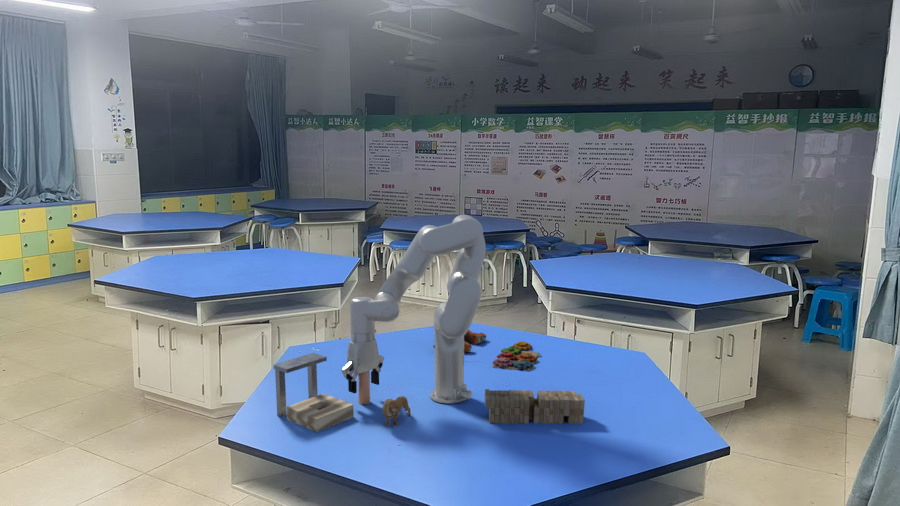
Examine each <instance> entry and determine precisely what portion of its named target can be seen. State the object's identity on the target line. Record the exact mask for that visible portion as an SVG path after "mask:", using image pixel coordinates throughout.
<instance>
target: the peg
mask: <svg viewBox="0 0 900 506" xmlns="http://www.w3.org/2000/svg"><path fill="white" fill-rule="evenodd" d="M357 380H358V384H357V385H358V386H357V387H358V388H357V389H358V404H359V405H362V404H364V405H369V404H370V403H371V391H370V390H371V371H370V370H369V371H366V372H364V373H361V374H358V375H357Z"/></svg>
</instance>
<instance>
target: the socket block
mask: <svg viewBox="0 0 900 506" xmlns="http://www.w3.org/2000/svg"><path fill="white" fill-rule="evenodd" d="M286 411H287V415H286V420H287V421H290V422H291V423H295V424H297V425H299V426H301V427H304V428H306V429H308V430H311V431H312V432H315V433H319V432H321V431H323V430H327V429H328V428H331V427H333V426H336V425H338V424H341V423H342V422H345V421H347V420H350V419H352V418H354V415H355V413H354V411H355V410H354V404H353V403H350V402H349V401H345V400H343V399H339V398H336V397H335V396H332V395H329V394H326V393H321V394H319V395H318V396H315V397H312V398H310V399H309V398H307V399H304V400H301V401H298V402H296V403H293V404H291V405H288V406H286Z"/></svg>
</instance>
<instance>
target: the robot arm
mask: <svg viewBox="0 0 900 506" xmlns="http://www.w3.org/2000/svg"><path fill="white" fill-rule="evenodd" d="M483 228H484V227H483V226H482V224H481V222H480V221H479V220H478V219H476V218H474V217H473V216H471V215H468V214H459V215H457V216H456V217H454V219H453V220H452V222H450V223H447V224H444V225H441V226H439V225H438V226H435V225H432V224H426V225H424V226H421V228H420V229H419V230H418V232H417V233H416V235H415V236H414V238H413V240H412V241H411V243H410V244H409V246H408V247H407V249H406V251H405V252H404V254H403V256H402V257H401V259H400V260H399V262H398V263H397V264H396V266H395V267H394V269H393V270H392V271H391V272H390V274H389V275H388V276H387V279H386V280H385V281H384V283H383V284H382V286H381V287H380V289H379V291H378V292H377V294H376V295H375V298H374V299H373V298H371V297H369V296H356V297H354V298H352V299H351V300H350V303H349V306H350V307H349V308H350V309H349V310H350V311H349V312H350V314H349V315H350V317H349V318H350V341H349V342H348V345H347V352H346V353H347V355H346V364H345V366H343V367H342V369H341V374H342V375H343V377H344V378H345V379H346V381H347V382H348V383H347V384H348V385H347V388H348V392H350V393H352V394H357V392H358V388H357V387H358V386H357V385H358V384H357V380H356V379H357V378H358V374H361V373H364V372H366V371H369V372H370V384H374V385H376V386H378V385H380V372H381V368H382V367H383V366H384V361H385V356H383V355H380V354H379V348H378V342H377V338H376V333H377V329H375V328H376V325H375V323H376V322H380V323H390V322H393V321H395V320H396V319H397V318H398V317H399V315H400V305H399V302H400V301H401V299H402V298H403V296H404V294H405V293H406V291H407V290H408V289H409V288H410V287H411V285H413V284H414V283H416V282H418V281H419V280H420V279H421V278H422V277H423V276H424V275H425V272H426V271H427V269H428V267H430V265H431V263H432V261H433V260H434V258H435V257H436V256H439V255H444V254H448V253H451V252H456V251H458V252H457V257H456V260H455V262H454V265H453V268H452V270H451V273H450V275H449V278H448V281H447V284H446V289H447V293H448V294H449V295H448V298H447V301H444V302H441V303H440V304H438V305H437V307H436V308H435V309H434V312H433V331H434V345H435V348H434V388H433V390H431V392H430V393H429V394H430V395H429V396H430V399H431V400H433V401H434V402H436V403H439V404H440V403H441V404H458V403H462V402H465V401H466V400H470V399H471V397H472V395H473V392H474V391H472V390H471V389H467V386H468V385H467V384H466V383H465V352H464V341H465V339H464V335H465V334H466V333H467V331H468V330H470V327H471V325H472V322H473V320H474V317H475V315H476V312H477V309H478V307H479V303H480V301H481V297H482V286H481V284H480V283H479V277H480V274H481V271H482V268H483V265H484V261H485V257H486V250H487V249H486V246H487V245H486V240H485V236H484V229H483Z"/></svg>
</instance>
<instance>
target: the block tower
mask: <svg viewBox="0 0 900 506" xmlns="http://www.w3.org/2000/svg"><path fill="white" fill-rule="evenodd" d="M585 402H586V401H585V397H584V396H583V393H577V392H576V390H537V391H536V397H535V395H534V392H533V390H532V389H530V390H529V389H528V390H525V389H524V390H522V389H519V390H517V389H513V390H512V389H510V390H509V389H508V390H505V389H504V390H503V389H502V390H496V389H495V390H490V389H489V388H485V389H484V407H485V408H488V422H489V424H490V423H492V424H529V421H532V422H533V424H560V425H562V424H564V419H566V421H567V424H570V425H572V424H578V425H580V424H582V425H584V414H585Z"/></svg>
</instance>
